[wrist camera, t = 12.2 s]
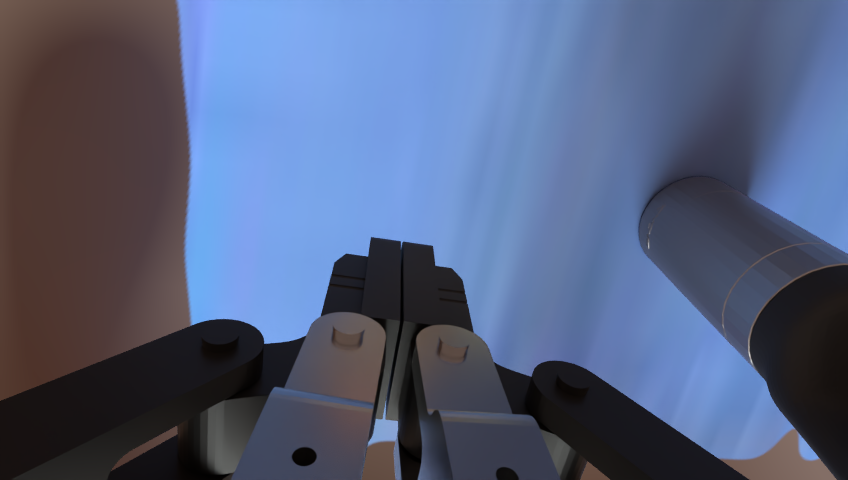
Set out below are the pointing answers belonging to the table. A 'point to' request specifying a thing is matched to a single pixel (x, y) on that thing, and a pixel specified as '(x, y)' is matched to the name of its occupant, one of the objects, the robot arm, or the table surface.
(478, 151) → the table surface
